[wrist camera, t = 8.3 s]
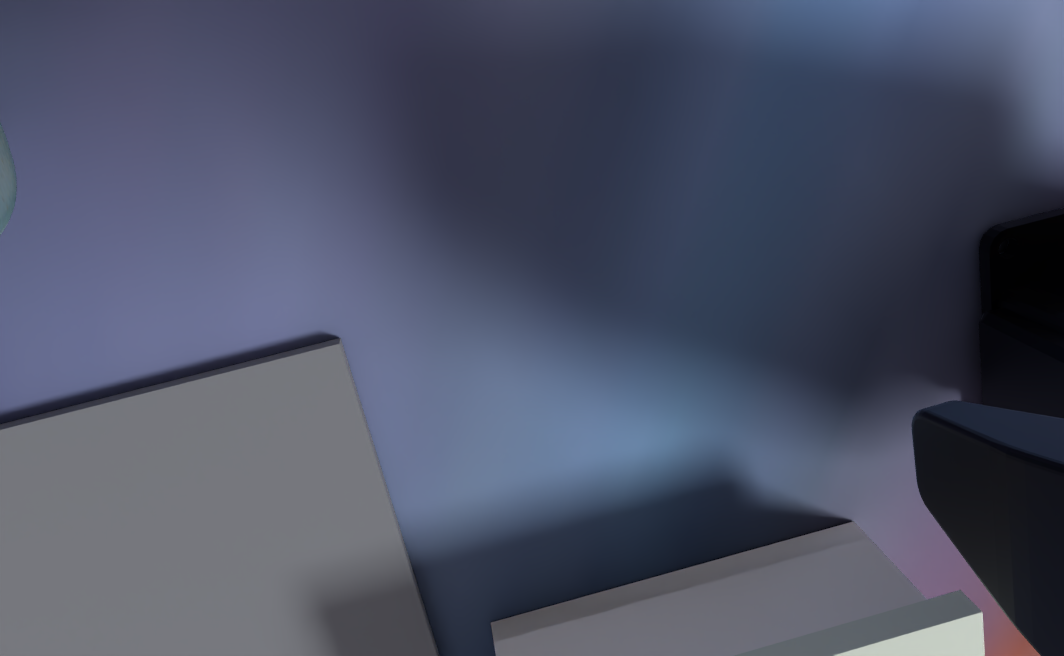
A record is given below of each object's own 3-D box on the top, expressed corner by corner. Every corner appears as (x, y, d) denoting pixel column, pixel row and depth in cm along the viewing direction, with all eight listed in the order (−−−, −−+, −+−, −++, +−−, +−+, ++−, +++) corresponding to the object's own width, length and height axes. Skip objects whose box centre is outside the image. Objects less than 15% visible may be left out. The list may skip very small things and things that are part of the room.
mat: (340, 338, 20) (339, 343, 20) (474, 768, 25) (475, 780, 24) (-250, 487, 19) (-263, 496, 19) (-1, 906, 24) (-7, 920, 23)
